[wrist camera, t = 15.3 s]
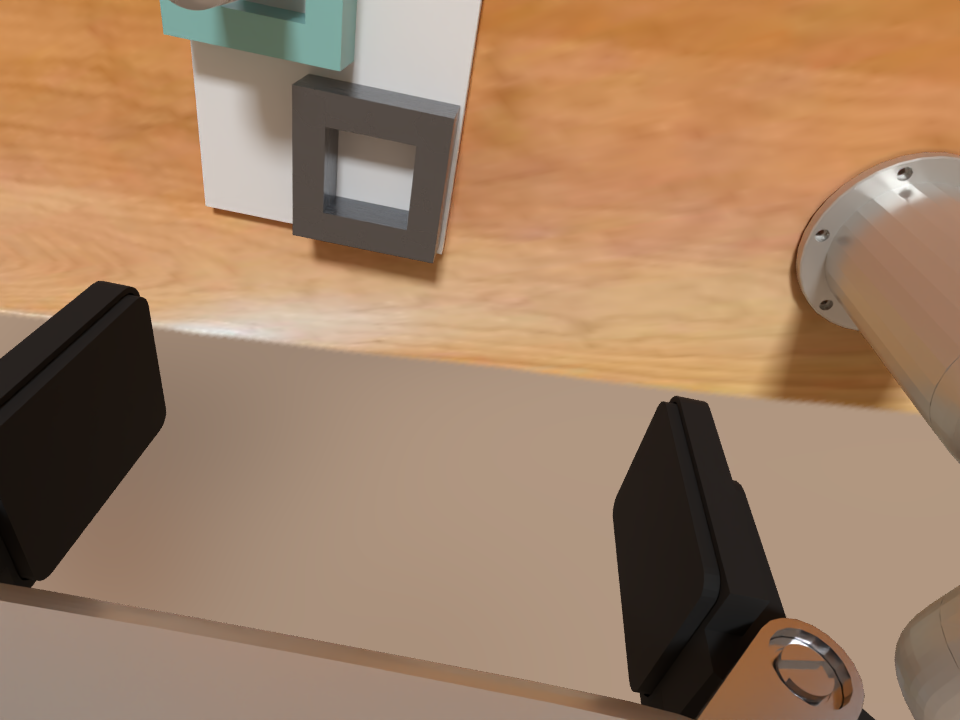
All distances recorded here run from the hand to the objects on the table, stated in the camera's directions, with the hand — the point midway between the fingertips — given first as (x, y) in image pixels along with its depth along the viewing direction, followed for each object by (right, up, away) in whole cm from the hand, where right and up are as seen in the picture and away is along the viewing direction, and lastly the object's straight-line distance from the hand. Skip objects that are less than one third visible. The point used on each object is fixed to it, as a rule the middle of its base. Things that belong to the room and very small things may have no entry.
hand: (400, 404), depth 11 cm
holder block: (-5, +14, +30) cm, 33 cm away
